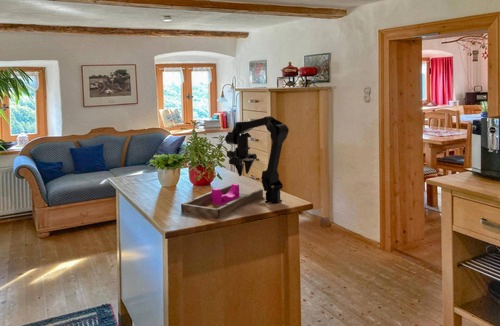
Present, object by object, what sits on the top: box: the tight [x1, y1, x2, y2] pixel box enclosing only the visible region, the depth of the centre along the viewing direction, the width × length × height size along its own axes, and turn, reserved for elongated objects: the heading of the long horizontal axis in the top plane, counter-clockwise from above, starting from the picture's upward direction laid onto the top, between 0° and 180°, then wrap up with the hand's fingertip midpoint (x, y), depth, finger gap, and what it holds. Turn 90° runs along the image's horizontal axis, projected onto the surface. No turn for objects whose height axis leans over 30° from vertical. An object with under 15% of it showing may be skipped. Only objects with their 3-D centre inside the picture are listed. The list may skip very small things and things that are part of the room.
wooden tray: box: [180, 184, 264, 220], centre depth 223 cm, size 21×40×4 cm, turn 149°
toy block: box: [211, 183, 240, 206], centre depth 228 cm, size 15×6×8 cm, turn 133°
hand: (243, 174), depth 237 cm, fingers open, 6 cm apart
